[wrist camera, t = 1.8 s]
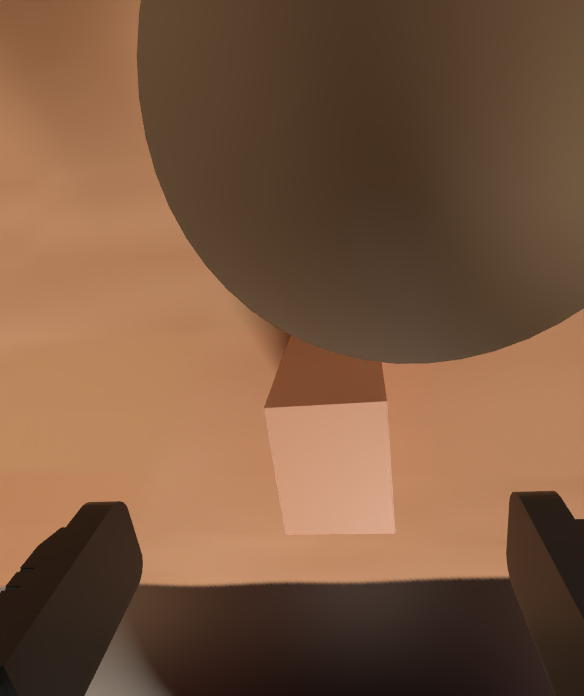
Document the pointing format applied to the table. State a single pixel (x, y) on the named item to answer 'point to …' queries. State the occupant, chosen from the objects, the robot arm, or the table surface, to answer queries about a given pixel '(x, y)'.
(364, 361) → the tan rectangular block
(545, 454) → the table surface
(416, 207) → the bobbin
